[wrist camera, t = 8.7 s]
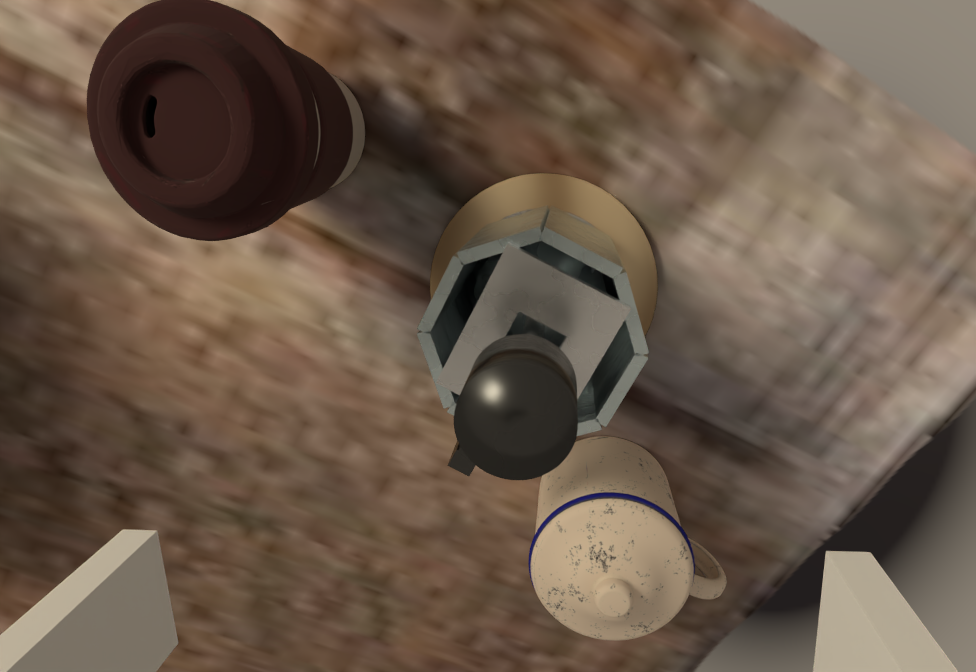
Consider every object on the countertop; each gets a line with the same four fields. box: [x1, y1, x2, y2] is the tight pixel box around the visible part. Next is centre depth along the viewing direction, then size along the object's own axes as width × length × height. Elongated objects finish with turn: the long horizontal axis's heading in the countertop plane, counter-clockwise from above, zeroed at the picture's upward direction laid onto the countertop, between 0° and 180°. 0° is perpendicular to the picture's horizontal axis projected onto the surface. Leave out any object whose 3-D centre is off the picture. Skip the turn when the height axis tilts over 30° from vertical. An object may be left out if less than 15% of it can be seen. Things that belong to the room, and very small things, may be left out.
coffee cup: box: [87, 0, 365, 241], centre depth 35 cm, size 10×10×15 cm
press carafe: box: [417, 205, 649, 476], centre depth 37 cm, size 10×13×12 cm
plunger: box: [454, 241, 606, 480], centre depth 31 cm, size 8×8×19 cm
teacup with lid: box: [529, 436, 727, 640], centre depth 40 cm, size 12×9×12 cm
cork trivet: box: [430, 173, 658, 337], centre depth 42 cm, size 14×14×1 cm
